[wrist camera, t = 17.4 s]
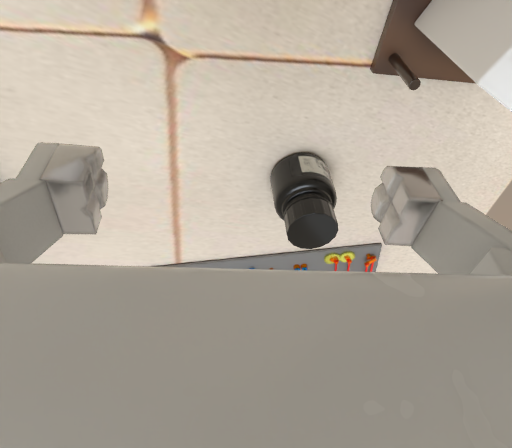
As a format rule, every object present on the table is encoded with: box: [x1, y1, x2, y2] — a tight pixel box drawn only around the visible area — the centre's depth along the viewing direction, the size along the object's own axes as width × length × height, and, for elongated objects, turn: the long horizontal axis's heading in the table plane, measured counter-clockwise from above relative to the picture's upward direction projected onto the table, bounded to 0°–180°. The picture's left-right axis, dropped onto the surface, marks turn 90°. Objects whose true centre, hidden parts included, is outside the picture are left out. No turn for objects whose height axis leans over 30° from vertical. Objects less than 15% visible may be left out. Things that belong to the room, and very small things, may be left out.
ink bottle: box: [271, 153, 338, 249], centre depth 54 cm, size 10×9×12 cm
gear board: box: [156, 243, 382, 272], centre depth 77 cm, size 45×2×19 cm
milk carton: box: [414, 0, 512, 112], centre depth 35 cm, size 7×7×19 cm
